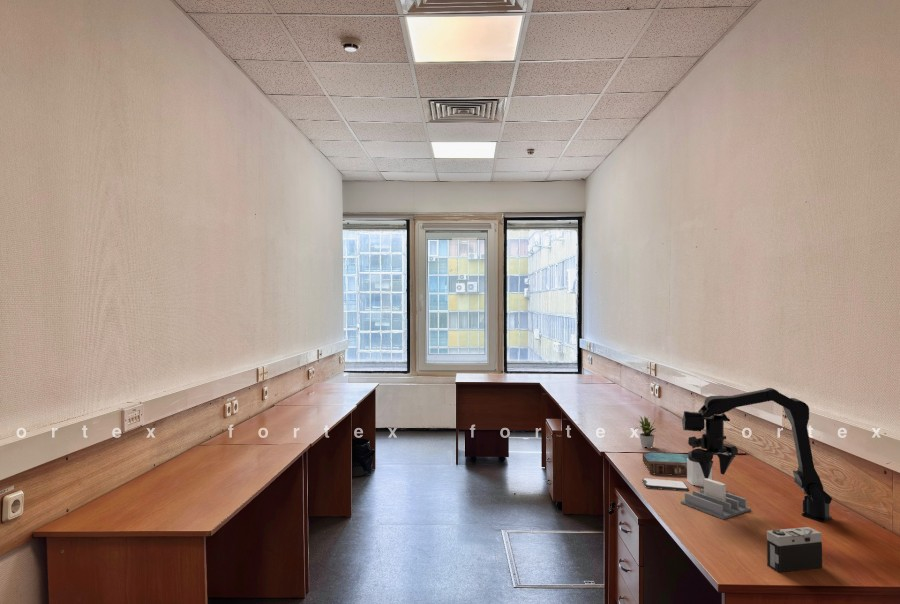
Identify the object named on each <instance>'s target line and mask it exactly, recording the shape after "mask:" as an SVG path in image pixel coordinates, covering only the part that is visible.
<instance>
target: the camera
mask: <svg viewBox="0 0 900 604" xmlns="http://www.w3.org/2000/svg"><path fill="white" fill-rule="evenodd" d="M822 536H823V535H822V532H821V531H819V530H816V529H814V528H812V527H810V526H807V527H806V526H805V527H795V528H794V527H793V528H783V529H772V530H766V563H767V564H766V565H767V567H768V568H771V569H772V570H774V571H775V572H777V573H784V572H785V573H786V572H792V571H793V572H794V571H804V570H809V569H810V570H812V569H820V568H823V542H822V539H823V538H822Z"/></svg>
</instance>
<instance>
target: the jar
mask: <svg viewBox="0 0 900 604" xmlns="http://www.w3.org/2000/svg"><path fill="white" fill-rule="evenodd" d="M691 451H692V450H690V451H688V452H687V454H688V458H687V476H686V482H687V481H688V483H689V484H690V485H692V486H694V485H695V487H701V488H704V479H707V478H705V477H704V474H703V471H702V468H701V466H700V464H699V462H698V461H697V460H695V459H694V458H692V457H691ZM712 472H713V470H712V468H711V471H710V475H709V477H708V479H711V480H713V478H712V477H713V476H712V475H713V473H712Z"/></svg>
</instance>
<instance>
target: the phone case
mask: <svg viewBox="0 0 900 604" xmlns="http://www.w3.org/2000/svg"><path fill="white" fill-rule="evenodd" d="M642 481H643V482H642ZM641 482H642V483H644V484H643V486H644V485H645V486H646V487H650V488H662V489H661V490H664V489H676V490H675V491H678V490H688V491H689V487H688V486H687V484H686V483H685V482H684V481H681V480H670V479H669V480H668V479H656V478H647V477H646V478H645V477H644V478H642V479H641ZM645 486H644V487H645ZM646 487H645V488H646Z"/></svg>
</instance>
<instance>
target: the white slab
mask: <svg viewBox="0 0 900 604" xmlns="http://www.w3.org/2000/svg"><path fill="white" fill-rule="evenodd" d="M703 489H704V494H705V495H708V496H711V497H714V498H716V499H719V500H722V501H725V502H726V490H727V483H726V484H725V483H723V482H720V481H716V480H714V479H712V480H711V479H704V487H703Z"/></svg>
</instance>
